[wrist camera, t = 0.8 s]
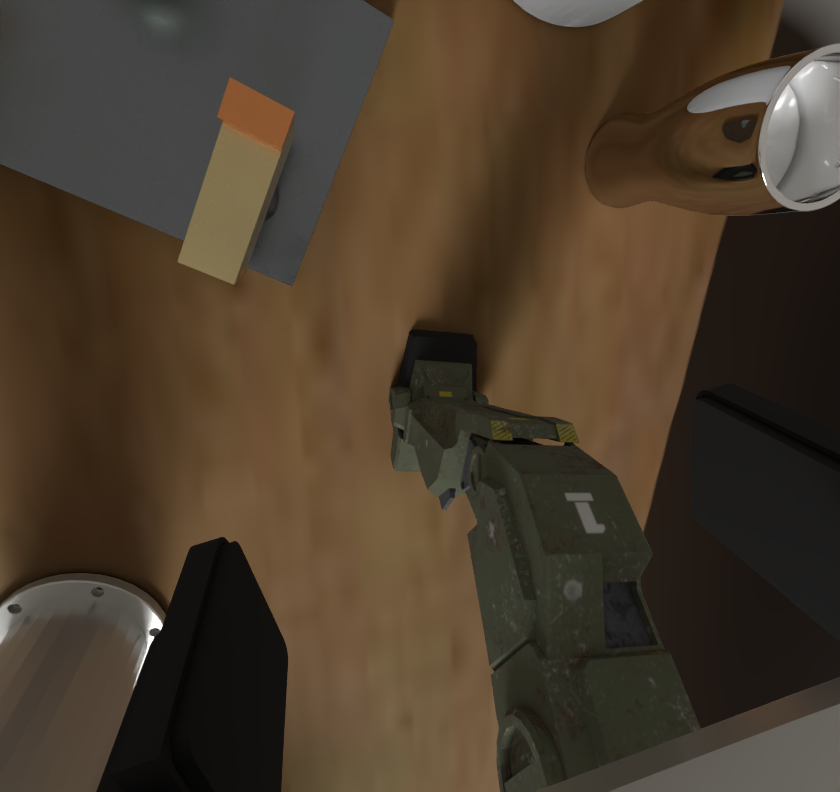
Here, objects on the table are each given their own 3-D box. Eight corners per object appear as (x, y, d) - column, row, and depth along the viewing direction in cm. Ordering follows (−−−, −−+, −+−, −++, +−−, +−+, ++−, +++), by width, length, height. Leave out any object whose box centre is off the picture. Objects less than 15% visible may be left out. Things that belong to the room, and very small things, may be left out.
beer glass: (564, 199, 36) (729, 191, 22) (599, 91, 34) (805, 8, 20) (644, 225, 38) (842, 233, 24) (682, 125, 36) (921, 71, 22)
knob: (249, 269, 30) (231, 288, 23) (203, 250, 29) (169, 264, 22) (297, 138, 29) (294, 111, 21) (249, 113, 28) (229, 76, 20)
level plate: (292, 282, 34) (286, 323, 21) (-212, 69, 25) (-711, -68, 13) (388, 32, 30) (448, -93, 18) (-164, -318, 21) (-799, -1036, 9)
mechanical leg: (403, 278, 34) (632, 840, 10) (501, 289, 36) (905, 788, 11) (376, 438, 41) (469, 988, 17) (459, 440, 43) (651, 942, 19)
